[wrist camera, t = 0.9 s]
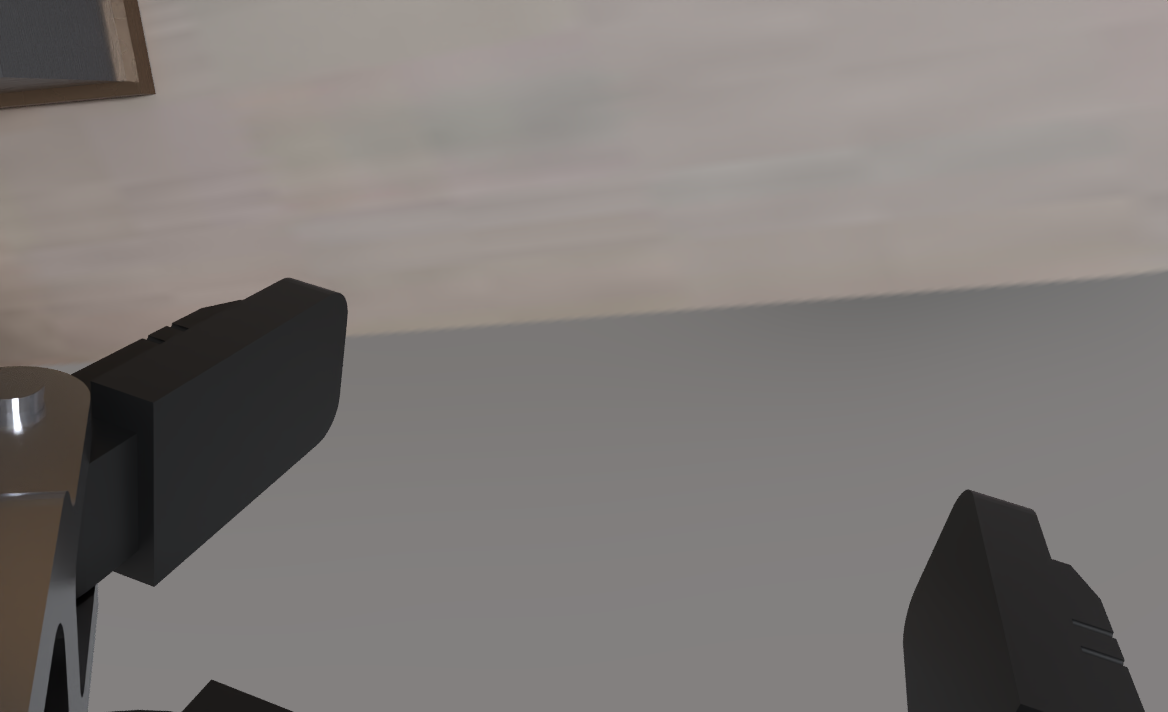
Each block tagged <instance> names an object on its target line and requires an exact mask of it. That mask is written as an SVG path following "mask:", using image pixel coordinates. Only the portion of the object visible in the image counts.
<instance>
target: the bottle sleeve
mask: <svg viewBox="0 0 1168 712" xmlns="http://www.w3.org/2000/svg"><path fill="white" fill-rule="evenodd" d="M149 94H155V89H154V84H153V78H152V73H151V68H150V63H149V58H148V53H147V48H146V43H145V38H144V33H143V27H142V22H141V17H140V12H139V7H138V2H137V0H0V109H1V108H11V107H22V106H33V105H43V104H54V103H64V102H75V101H86V100H96V99H107V98H117V97H128V96H139V95H149Z"/></svg>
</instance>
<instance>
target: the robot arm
mask: <svg viewBox="0 0 1168 712" xmlns="http://www.w3.org/2000/svg"><path fill="white" fill-rule="evenodd" d="M347 314H348V310H347V302H346V299H345V297H344V296H343V295H342V294H341V293H338V292H334V291H331V290H328V289H325V288H322V287H318V286H315V285H312V284H309V283H305V282H302V281H299V280H296V279H293V278H284V279H282V280H280V281H278V282H276V283H274V284H272V285H271V286H269V287H267V288H265V289H263V290H261V291H259V292H257V293H255V294H254V295H252V296H250V297H248V298H246V299H244V300H238V301H233V302H228V303H224V304H219V305H214V306H210V307H205V308H201V309H199V310H197V311H195V312H193V313H191V314H189V315H187V316H185V317H183V318H181V319H179V320H177V321H175V322H173V323H172V326H171V327H168V326H166V327H164V328H162V329H160V330H158V331H156V332H154V333H152V334H150V335H148V338H147V340H145V339H140V340H138V341H136V342H134V343H132V344H130V345H128V346H126V347H124V348H122V349H120V350H118V351H116V352H115V353H113V354H111V355H109V356H107V357H105V358H103V359H101V360H99V361H97V362H95V363H93V364H91V365H89V366H87V367H85V368H83V369H81V370H79V371H77V372H75V373H73V374H71V375H70V374H67V373H64V372H61V371H58V370H53V369H48V368H41V367H29V366H13V367H0V712H88V703H89V693H90V683H91V673H92V663H93V653H94V643H95V633H96V623H97V612H98V584H97V583H99V582H100V581H101V580H102V579H104V578H105V577H106V576H107V575H108V574H110V573H111V572H112V571H114V572H117V573H119V574H122V575H124V576H127V577H130V578H132V579H135V580H138V581H140V582H143V583H145V584H148V585H151V586H153V587H154V586H156V585H157V584H158V583H159V582H160V581H161V580H163V579H164V578H165V577H166V576H167V575H168V574H169V573H171V572H172V571H173V570H174V569H175V568H176V567H177V566H179V565H180V564H181V563H182V562H183V561H184V560H185V559H187V558H188V557H189V556H190V555H191V554H192V553H193V552H195V551H196V550H197V549H198V548H199V547H200V546H201V545H203V544H204V543H205V542H206V541H207V540H208V539H210V538H211V537H212V536H213V535H214V534H215V533H216V532H217V531H219V530H220V529H221V528H222V527H223V526H224V525H225V524H227V523H228V522H229V521H230V520H231V519H232V518H234V517H235V516H236V515H237V514H238V513H239V512H240V511H242V510H243V509H244V508H245V507H246V506H247V505H249V504H250V503H251V502H252V501H253V500H254V499H255V498H256V497H258V496H259V495H260V494H261V493H262V492H263V491H265V490H266V489H267V488H268V487H269V486H270V485H271V484H273V483H274V482H275V481H276V480H277V479H278V478H279V477H281V476H282V475H283V474H284V473H285V472H286V471H287V470H288V469H290V468H291V467H292V466H293V465H294V464H296V463H297V462H298V461H299V460H300V459H301V458H302V457H304V456H305V455H306V454H307V453H308V452H309V451H310V450H312V449H313V448H314V447H315V446H316V445H317V444H318V443H319V442H320V441H321V440H322V439H323V438H324V437H325V435H326V433H327V432H328V430H329V428H330V426H331V424H332V422H333V420H334V417H335V415H336V411H337V408H338V403H339V397H340V387H341V377H342V367H343V356H344V345H345V336H346V326H347ZM1112 635H1113V630H1112V627H1111V625H1110V622H1109V620H1108V617H1107V615H1106V612H1105V609H1104V607H1103V604H1102V602H1101V599H1100V598H1099V597H1098V596H1097V595H1096V594H1095V593H1094V591H1093V590H1092V589H1091V588H1090V587H1089V586H1088V585H1087V584H1086V582H1085V581H1084V580H1083V579H1082V578H1081V577H1080V575H1078V573H1077V572H1076V571H1075V570H1074V569H1073V568H1072V566H1071V565H1069V564H1065V563H1062V562H1059V561H1056V560H1052V559H1051V557H1050V554H1049V551H1048V548H1047V545H1046V542H1045V539H1044V536H1043V533H1042V530H1041V527H1040V524H1039V521H1038V518H1037V515H1036V513H1035V512H1034V511H1033V510H1032V509H1029V508H1026V507H1023V506H1020V505H1017V504H1013V503H1010V502H1007V501H1004V500H1000V499H997V498H994V497H991V496H987V495H984V494H981V493H978V492H975V491H971V490H965V491H964V492H963V493H962V494H961V495H960V496H959V498H958V499H957V501H956V502H955V504H954V506H953V508H952V510H951V513H950V515H949V517H948V519H947V521H946V523H945V526H944V528H943V530H942V532H941V534H940V537H939V539H938V541H937V543H936V545H935V547H934V550H933V552H932V554H931V556H930V558H929V560H928V563H927V565H926V567H925V569H924V572H923V573H922V576H921V578H920V580H919V582H918V584H917V587H916V589H915V591H914V593H913V596H912V599H911V602H910V605H909V608H908V612H907V616H906V621H905V626H904V634H903V648H904V663H905V677H906V690H907V703H908V704H907V705H908V712H1145V711H1144V708H1143V706H1142V703H1141V701H1140V698H1139V696H1138V693H1137V691H1136V688H1135V686H1134V683H1133V681H1132V678H1131V675H1130V673H1129V670H1128V668H1127V667H1125V666H1123V662H1124V658H1123V655H1122V653H1121V650H1120V647H1119V645H1118V642H1117V640H1116V639H1114V638H1112ZM115 712H171V711H149V710H131V711H115ZM182 712H292V711H290V710H287V709H285V708H282V707H280V706H277V705H275V704H272V703H270V702H267V701H265V700H262V699H260V698H257V697H255V696H252V695H249V694H247V693H244V692H242V691H239V690H237V689H234V688H232V687H229V686H227V685H224V684H221V683H219V682H216V681H214V680H211V681H210V682H209V683H208V684H207V685H206V686H205V687H204V688H203V689H202V690H201V692H200V693H199V694H198V695H197V696H196V697H195V698H194V699H193V700H192V701H191V702H190V704H189V705H188V706H187V707H186V708H185V709H184V710H183V711H182Z"/></svg>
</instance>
